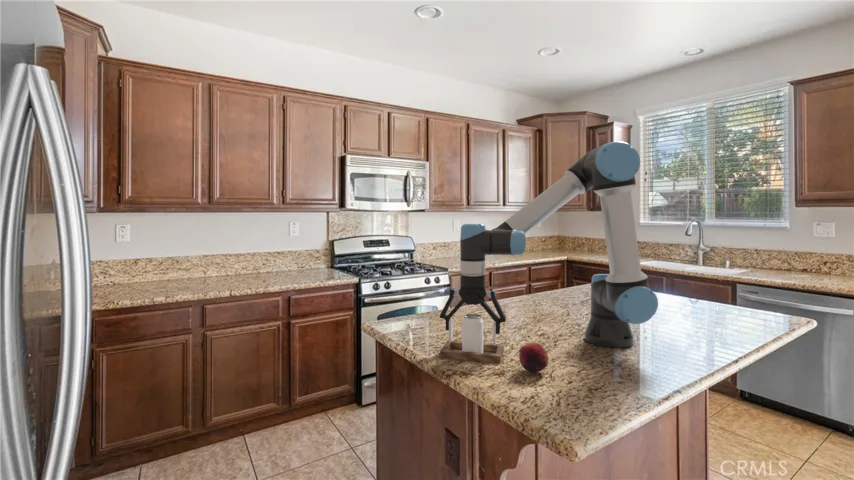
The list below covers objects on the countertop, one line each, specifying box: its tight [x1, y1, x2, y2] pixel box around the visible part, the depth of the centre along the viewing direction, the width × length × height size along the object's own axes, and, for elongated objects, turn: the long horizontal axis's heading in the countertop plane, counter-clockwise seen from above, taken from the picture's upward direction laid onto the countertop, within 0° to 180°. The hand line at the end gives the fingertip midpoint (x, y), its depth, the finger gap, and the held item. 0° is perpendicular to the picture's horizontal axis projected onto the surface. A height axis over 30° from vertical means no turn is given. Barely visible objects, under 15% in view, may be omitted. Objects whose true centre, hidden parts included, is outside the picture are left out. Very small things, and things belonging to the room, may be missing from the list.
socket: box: [439, 339, 504, 364], centre depth 127 cm, size 18×11×2 cm, turn 75°
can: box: [461, 313, 484, 353], centre depth 126 cm, size 6×6×12 cm
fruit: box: [518, 341, 549, 374], centre depth 112 cm, size 8×8×8 cm
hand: (472, 342), depth 127 cm, fingers open, 13 cm apart
